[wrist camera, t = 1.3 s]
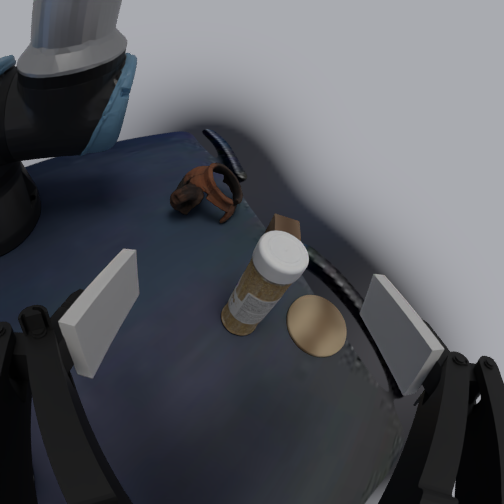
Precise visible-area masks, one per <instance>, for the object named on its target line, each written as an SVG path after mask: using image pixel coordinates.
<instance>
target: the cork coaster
mask: <svg viewBox="0 0 504 504" xmlns="http://www.w3.org/2000/svg"><path fill="white" fill-rule="evenodd" d="M286 321H287V328H288V332H289V334H290V336H291V338H292V340H293V341H294V343H295V344H296V345H297V346H298V347H299V348H300V349H301V350H302V351H304V352H305V353H307V354H309V355H312V356H315V357H328V356H331V355H333V354H335V353H336V352H338V351H339V350H340V349H341V348H342V346H343V345H344V343H345V340H346V325H345V321H344V319H343V317H342V315H341V313H340V312H339V310H338V309H337V308H336V307H335V306H334V305H333V304H332V303H331V302H329V301H328V300H326V299H324V298H322V297H319V296H315V295H306V296H302V297H300V298H298V299H297V300H296V301H295V302H294V303H293V304H292V305H291V306H290V308H289V310H288V313H287V319H286Z"/></svg>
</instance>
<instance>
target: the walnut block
mask: <svg viewBox="0 0 504 504" xmlns="http://www.w3.org/2000/svg"><path fill="white" fill-rule="evenodd" d="M269 231H283V232H287V233H289V234H291V235H293V236H294V237H296V238H297V239H298V240H300V241H301V236H300V224H299V221H297V220H293V219H290V218H287V217H284V216H281V215H278V214H275V215H274V216H273V218H272V220H271V222H270V224H269V226H268V228H267V229H266V233H267V232H269Z"/></svg>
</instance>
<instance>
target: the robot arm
mask: <svg viewBox="0 0 504 504" xmlns="http://www.w3.org/2000/svg"><path fill="white" fill-rule="evenodd" d="M121 1H122V0H34V2H33V11H32V25H31V43H30V45H29V46H28V47H27V49H26V50H25V51H24V52H23V54H22V55H21V56H20V58H19V59H18V62H17V66H16V67H15V64H16V61H15V59H14V56H13V55H9V56H6V57H2V58H0V256H1V255H3V254H6V253H7V252H9V251H11V250H12V249H14V248H15V247H17V246H18V245H19V244H20V243H21V242H22V241H23V240H24V239H25V238H26V237H27V236H28V235H29V234H30V232H31V231H32V230H33V228H34V226H35V225H36V223H37V221H38V218H39V215H40V211H41V201H40V197H39V193H38V189H37V187H36V185H35V183H34V182H33V180H32V178H31V177H30V175H29V174H28V172H27V170H26V169H25V167H24V165H23V164H22V162H21V161H23V160H31V159H40V158H49V157H60V156H73V155H79V156H81V155H85V154H87V153H95V152H103V151H106V150H108V149H110V148H112V147H113V146H114V145H115V143H116V141H117V139H118V137H119V134H120V131H121V127H122V124H123V119H124V116H125V112H126V108H127V104H128V100H129V93H130V90H131V86H132V84H133V79H134V75H135V70H136V65H137V58H136V56H135V55H131V54H130V53H125V51H126V46H127V40H126V38H125V37H124V36H123V35H122V34H121V33H120V32H119V31H118V30H117V29H116V23H117V18H118V14H119V9H120V5H121ZM138 296H139V285H138V272H137V256H136V250H131V249H123V250H122V251H121V252H120V253H119V254H118V255H117V256H116V257H115V258H114V259H113V260H112V261H111V262H110V263H109V264H108V265H107V266H106V267H105V268H104V270H103V271H102V272H101V273H100V274H99V275H98V276H97V277H96V278H95V279H94V280H93V282H92V283H91V284H90V285H89V286H88V287H87V288H86V289H85V290H82V289H79V290H77V291H76V292H74V293H72V294H71V295H70V296H69V297H68V298H67V299H66V301H65V302H64V303H63V304H62V305H61V307H59V308H58V310H57V311H56V312H55V313H54V314H53V315H52V317H51V318H50V317H49V314H48V311H47V309H46V308H45V307H44V306H41V305H32V306H29V307H27V308H25V309H24V310H22V311H21V313H20V314H19V317H18V320H19V323H20V325H21V328H22V331H23V333H17V332H13V329H12V327H11V325H10V324H9V323H8V322H0V504H38V503H37V497H36V491H35V484H34V476H33V467H32V454H31V399H32V397H33V402H34V407H35V412H36V416H37V420H38V424H39V428H40V432H41V435H42V439H43V442H44V445H45V448H46V451H47V455H48V457H49V460H50V463H51V466H52V469H53V471H54V474H55V476H56V479H57V481H58V484H59V486H60V488H61V491H62V493H63V495H64V497H65V499H66V502H67V504H133V503H132V502H131V500H130V499H129V497H128V496H127V494H126V493H125V491H124V489H123V488H122V486H121V485H120V483H119V481H118V479H117V478H116V476H115V474H114V473H113V471H112V469H111V467H110V465H109V463H108V462H107V460H106V458H105V456H104V454H103V452H102V450H101V448H100V446H99V444H98V442H97V439H96V437H95V435H94V433H93V431H92V428H91V426H90V424H89V421H88V419H87V416H86V414H85V411H84V409H83V406H82V404H81V401H80V398H79V395H78V393H77V390H76V387H75V384H74V381H73V378H72V375H71V373H70V370H71V368H72V366H73V365H74V367H75V369H76V371H77V374H79V375H82V376H86V377H89V378H92V379H93V377H94V375H95V373H96V371H97V369H98V368H99V366H100V364H101V362H102V360H103V358H104V356H105V354H106V352H107V350H108V348H109V347H110V345H111V343H112V341H113V339H114V337H115V336H116V334H117V332H118V330H119V328H120V327H121V325H122V323H123V321H124V320H125V318H126V316H127V314H128V313H129V311H130V309H131V307H132V306H133V304H134V302H135V301H136V299H137V297H138ZM360 315H361V317H362V319H363V321H364V322H365V324H366V326H367V328H368V330H369V331H370V333H371V335H372V337H373V339H374V340H375V342H376V344H377V346H378V348H379V350H380V351H381V353H382V355H383V357H384V359H385V361H386V363H387V365H388V367H389V368H390V370H391V372H392V374H393V376H394V378H395V380H396V382H397V384H398V386H399V388H400V390H401V392H402V394H403V396H404V395H409V394H414V393H416V392H417V391H418V389H419V388H420V386H421V385H423V387H424V388H425V390H424V391H423V393H422V394H421V395H420V397H419V398H418V399H417V401H416V402H415V404H414V406H416V404H417V403H419V404H418V408H417V411H416V414H415V418H414V421H413V424H412V427H411V430H410V432H409V435H408V438H407V441H406V443H405V446H404V449H403V451H402V454H401V456H400V459H399V461H398V463H397V466H396V468H395V470H394V473H393V475H392V477H391V479H390V481H389V483H388V485H387V487H386V489H385V491H384V493H383V495H382V497H381V499H380V501H379V503H378V504H504V383H503V380H502V378H501V375H500V372H499V369H498V366H497V364H496V363H495V362H494V360H493V359H491V358H490V357H487V356H482V357H480V359H479V360H478V362H477V363H476V364H473V363H469V361H468V360H467V358H466V357H465V356H464V355H462V354H460V353H458V352H450V351H449V350H448V348H447V347H446V346H445V344H444V343H443V342H442V340H441V339H440V338H439V337H438V336H437V334H436V333H435V331H433V329H432V328H431V326H430V325H429V324H428V323H427V322H425V321H424V320H423V319H422V318H420V317H419V315H418V314H417V313H416V312H415V311H414V309H413V308H412V307H411V306H410V304H409V303H408V302H407V301H406V300H405V298H404V297H403V296H402V295H401V294H400V293H399V291H398V290H397V289H396V288H395V287H394V286H393V284H392V283H391V282H390V281H389V280H388V279H387V278H386V277H385V276H384V275H378V274H373V277H372V280H371V283H370V286H369V289H368V292H367V295H366V298H365V300H364V303H363V306H362V309H361V311H360ZM480 394H481V400H480V401H479V403H477V404H476V399H477V398H478V397H479V395H480ZM455 480H456V484H455V498H454V497H452V490H453V487H454V483H455Z"/></svg>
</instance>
